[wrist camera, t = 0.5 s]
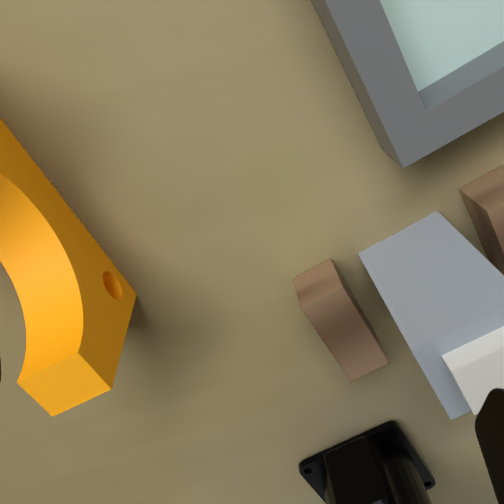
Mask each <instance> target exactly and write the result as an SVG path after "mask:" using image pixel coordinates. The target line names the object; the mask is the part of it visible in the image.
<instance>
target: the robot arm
mask: <svg viewBox="0 0 504 504" xmlns="http://www.w3.org/2000/svg"><path fill="white" fill-rule="evenodd" d="M0 381H1V360H0ZM475 432H476V435H477V438H478V441H479V445H480V448H481V451H482V454H483V457H484V460H485V463H486V466H487V470H488V473H489V476H490V479H491V482H492V485H493V488H494V491H495V495H496V498H497V500H498V503H499V504H504V389H503V388H494V389H492V390H491V391H490V392H489V394H488V395H487V397H486V399H485V401H484V403H483V405H482V407H481V409H480V411H479V413H478V415H477V417H476V420H475ZM299 472H300V474H301V475H302V476H303V478H304V479H305V480H306V481H307V482H308V483H309V484H310V486H311V487H312V488H313V489H314V490H315V491H316V492H317V494H318V495H319V496H320V497H321V498H322V499H323V501H324V502H325V503H326V504H432V503H431V501H430V499H429V496H428V494H427V491H426V490H428V489H430V488H432V487H433V486H434V485H435V480H434V478H433V476H432V474H431V473H430V471H429V469H428V468H427V466H426V465H425V463H424V462H423V460H422V459H421V457H420V456H419V454H418V453H417V451H416V450H415V448H414V447H413V445H412V444H411V442H410V440H409V439H408V437H407V436H406V434H405V433H404V431H403V430H402V428H401V427H400V425H399V424H398V423H397V422H395V421H389V422H386V423H384V424H382V425H379V426H377V427H375V428H373V429H371V430H369V431H366V432H364V433H362V434H360V435H358V436H355V437H353V438H351V439H349V440H347V441H344V442H342V443H340V444H338V445H336V446H333V447H331V448H329V449H327V450H325V451H322V452H320V453H318V454H316V455H314V456H311V457H309V458H307V459H305V460H303V461H301V462H300V463H299Z"/></svg>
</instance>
